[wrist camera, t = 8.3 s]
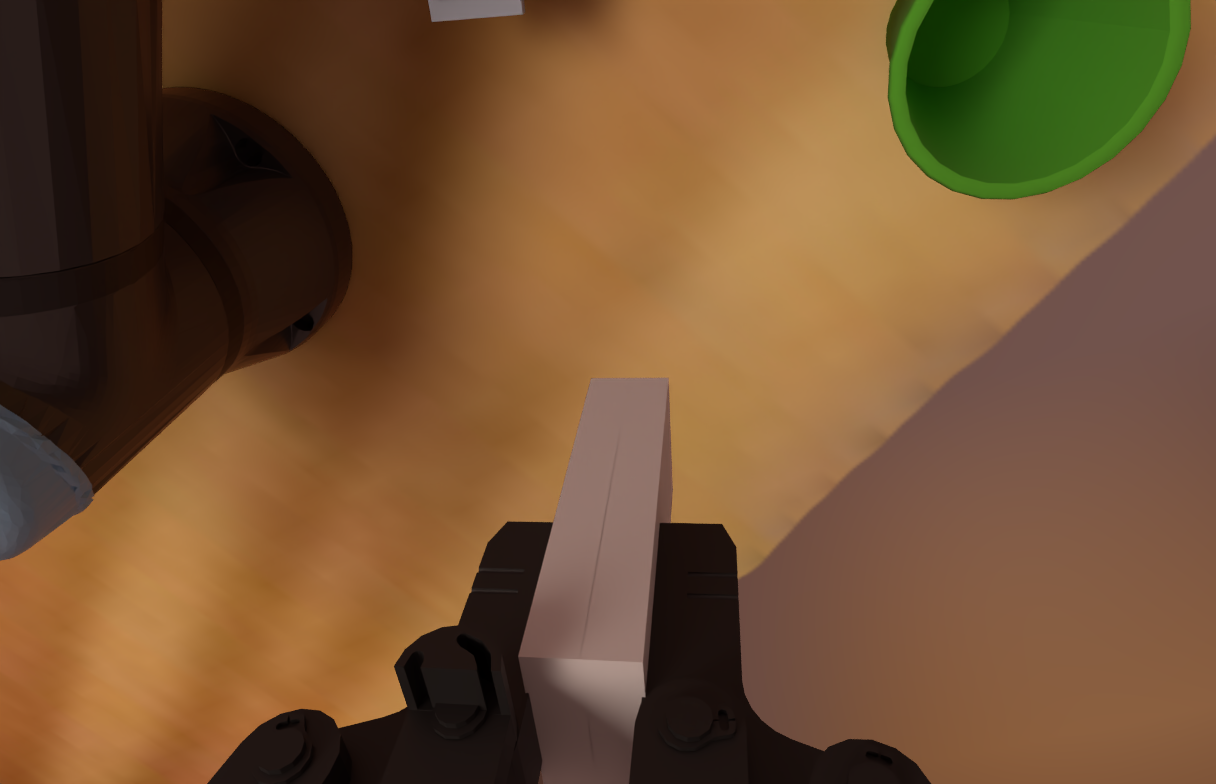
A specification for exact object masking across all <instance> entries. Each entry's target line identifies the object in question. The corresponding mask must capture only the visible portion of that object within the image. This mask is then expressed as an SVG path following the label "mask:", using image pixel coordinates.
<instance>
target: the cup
mask: <svg viewBox="0 0 1216 784" xmlns="http://www.w3.org/2000/svg"><path fill="white" fill-rule="evenodd" d="M1190 29H1191V10H1190V0H897V2H896V4H895V6H894V8H893V10H892V11H891V14H890V18H889V22H888V25H887V33H886V46H887V52H888V57H889V61H890V66H889V84H888V101H889V106H890V111H891V116H892V121H893V126H894V130H895V132H896V134H897V136H898V138H899V140H900V142H901V144H902V146H903V148H904V150H905V152H906V153H907V155H908V156H909V157H910V159H911V160H912V161H913V162H914V163H915V164H916V165H917V166H918V167H919V168H920V169H921V170H922V171H923V172H924V173H925V175H926V176H928V177H929V178H931V179H933V180H934V181H936V182H938V183H940V184H941V185H943V186H945V187H946V188H948V189H950V190H951V191H954V192H958V193H962V194H966V195H969V196H973V197H977V198H980V199H1018V198H1023V197H1028V196H1033V195H1038V194H1043V193H1047V192H1050V191H1052V190H1054V189H1057V188H1059V187H1062V186H1064V185H1067V184H1069V183H1071V182H1074V181H1076V180H1079V179H1081V178H1083V177H1084V176H1086V175H1087V174H1089V173H1091V172H1092V171H1094V170H1095V169H1097V168H1098V167H1100V166H1101V165H1103V164H1104V163H1106V162H1108V161H1109V160H1111V159H1112V158H1114V157H1115V156H1116V155H1117V154H1118V153H1119V152H1120V151H1121V150H1122V149H1123V148H1124V147H1125V146H1126V145H1128V144H1129V143H1130V142H1131V141H1132V140H1133V139H1134V138H1135V137H1136V136H1137V135H1138V134H1139V133H1140V132H1141V131H1142V130H1143V129H1144V127H1145V126H1146V125H1147V123H1148V122H1149V121H1150V119H1151V118H1152V117H1153V115H1154V114H1155V113H1156V111H1157V110H1158V109H1159V107H1160V106H1161V105H1162V103H1163V102H1164V101H1165V99H1166V97H1167V95H1168V93H1169V91H1170V89H1171V86H1172V84H1173V82H1174V80H1175V78H1176V76H1177V74H1178V72H1179V70H1180V68H1181V66H1182V62H1183V58H1184V54H1185V50H1186V46H1187V41H1188V37H1189V33H1190Z"/></svg>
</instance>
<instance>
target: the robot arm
mask: <svg viewBox="0 0 1216 784" xmlns="http://www.w3.org/2000/svg"><path fill="white" fill-rule="evenodd" d="M351 267H352V246H351V238H350V232H349V228H348V223H347V220H346V217H345V213H344V211H343V208H342V205H341V203H340V201H339V198H338V196H337V194H336V192H335V190H334V188H333V186H332V184H331V183H330V181H329V179H328V178H327V176H326V175H325V173H324V172H323V170H322V169H321V167H320V166H319V164H318V163H317V162H316V161H315V159H314V158H313V157H312V155H311V154H310V153H309V152H308V151H307V150H306V149H305V148H304V146H303V145H302V144H301V143H300V142H299V141H298V140H297V139H296V138H295V137H293V136H292V135H291V134H290V133H289V132H288V131H287V130H286V129H284V128H283V127H282V126H281V125H279V124H278V123H277V122H275V121H274V120H273V119H271V118H270V117H268V116H267V115H265V114H264V113H262V112H260V111H259V110H257V109H255V108H253V107H252V106H250V105H248V104H246V103H244V102H241V101H239V100H237V99H235V98H232V97H229V96H227V95H224V94H220V93H217V92H213V91H209V90H204V89H198V88H188V87H172V88H163V89H162V0H0V560H6V559H10V558H13V557H15V556H17V555H19V554H21V553H23V552H24V551H26V550H28V549H29V548H31V547H32V546H33V545H34V544H36V543H37V542H38V541H40V540H41V539H43V538H44V537H45V536H47V535H48V534H49V533H51V532H52V531H53V530H55V529H56V528H57V527H59V526H60V525H61V524H63V523H64V522H65V521H67V520H68V519H69V518H71V517H72V516H73V515H76V514H78V513H80V512H82V511H84V510H85V509H86V508H87V507H88V506H89V505H90V503H91V502H92V501H93V499H92V497H93V496H94V494H95V493H96V492H98V491H99V490H100V489H101V488H102V487H103V486H104V485H105V484H106V483H107V482H108V481H109V480H110V479H111V478H113V477H114V476H115V475H116V474H117V473H118V472H119V471H120V470H121V469H122V468H123V467H124V466H125V465H127V464H128V463H129V462H130V461H131V460H132V459H133V458H134V457H135V456H136V455H137V454H138V453H139V452H141V451H142V450H143V449H144V448H145V447H146V446H147V445H148V444H149V443H150V442H151V441H152V440H153V439H154V438H156V437H157V436H158V435H159V434H160V433H161V432H162V431H163V430H164V429H165V428H166V427H167V426H168V425H170V424H171V423H172V422H173V421H174V420H175V419H176V418H177V417H178V416H179V415H180V414H181V413H182V412H184V411H185V410H186V409H187V408H188V407H189V406H190V405H191V404H192V403H193V402H194V401H195V400H196V399H197V398H199V397H200V396H201V395H202V394H203V393H204V392H205V391H206V390H207V389H208V388H209V387H210V386H211V385H212V384H213V383H214V382H215V381H217V380H218V379H219V378H220V377H221V376H222V375H223V374H226V373H229V372H232V371H235V370H238V369H241V368H244V367H247V366H250V365H253V364H256V363H259V362H262V361H265V360H268V359H271V358H275V357H278V356H280V355H283V354H285V353H287V352H289V351H292V350H293V349H295V348H297V347H298V346H300V345H301V344H303V343H304V342H306V341H307V340H308V339H310V338H311V337H312V336H313V335H314V334H315V333H316V332H317V331H318V330H319V329H320V328H321V327H322V326H323V325H324V324H325V323H326V322H327V321H328V320H329V319H330V317H331V316H332V315H333V314H334V313H335V311H336V310H337V309H338V307H339V305H340V303H341V302H342V300H343V298H344V295H345V293H346V290H347V287H348V284H349V280H350V275H351ZM672 492H673V487H672V459H671V432H670V405H669V378H591V381H590V385H589V388H588V392H587V396H586V400H585V404H584V407H583V411H582V415H581V419H580V423H579V426H578V430H577V434H576V438H575V442H574V446H573V449H572V453H571V457H570V461H569V465H568V468H567V472H566V476H565V480H564V484H563V487H562V491H561V495H560V499H559V503H558V507H557V510H556V514H555V518H554V522H553V523H552V522H507V523H506V524H505V525H504V526H503V527H502V528H501V529H500V530H499V531H498V532H497V534H496V535H495V536H494V537H493V538H492V539H491V540H490V541H489V542H488V544H487V546H486V549H485V552H484V555H483V558H482V560H481V563H480V566H479V573H477V574H476V577H475V580H474V583H473V585H472V592H471V593H470V594H469V596H468V599H467V602H466V605H465V608H464V610H463V613H462V616H461V619H460V621H459V624H458V626H449V627H442V628H439V629H437V630H434V631H432V632H430V633H427V634H425V635H423V636H421V637H420V638H419V639H417V640H416V641H415V642H414V643H412V644H411V645H410V646H409V647H407V648H406V649H405V650H404V652H403V653H402V655H401V656H400V658H399V659H398V661H397V662H396V664H395V665H394V668H395V671H396V674H397V677H398V680H399V683H400V686H401V689H402V692H403V695H404V698H405V701H406V704H407V707H406V708H405V709H403V710H401V711H399V712H397V713H394V714H391V715H388V716H385V717H382V718H378V719H374V720H370V721H366V722H362V723H358V724H354V725H350V726H346V727H342V728H338V727H337V725H336V723H335V721H334V719H332V718H331V717H329V716H328V715H326V714H325V713H323V712H321V711H318V710H308V709H299V710H295V711H291V712H286V713H282V714H279V715H278V716H276V717H274V718H272V719H270V720H269V721H267V722H265V723H263V724H261V725H260V726H259V727H257V728H256V729H255V730H254V731H253V732H252V733H251V734H250V735H249V736H248V737H247V738H246V739H245V740H244V741H242V743H241V744H240V745H239V746H238V747H237V749H236V750H235V751H234V752H233V753H232V755H231V756H230V757H229V758H228V759H227V761H226V762H225V763H224V764H223V765H222V767H221V768H220V769H219V770H218V771H217V773H216V774H215V775H214V776H213V777H212V779H211V780H210V781H209V782H208V783H207V784H538V780H539V776H540V771H541V772H542V777H543V782H544V784H931V783H930V782H929V780H928V779H927V778H926V776H925V775H924V774H923V772H922V771H921V769H920V768H919V767H918V766H917V764H916V763H915V762H913V761H912V760H911V759H909V758H908V757H906V756H905V755H904V754H902V753H901V752H900V751H898V750H897V749H896V748H893V747H890V746H888V745H885V744H882V743H879V742H876V741H874V740H861V739H860V740H859V739H848V740H845V741H843V742H840V743H837V744H835V745H832V746H830V747H828V748H827V749H826V750H825V751H822V750H819V749H816V748H814V747H811V746H808V745H806V744H803V743H800V742H797V741H795V740H792V739H790V738H788V737H786V736H784V735H782V734H780V733H778V732H776V731H774V730H773V729H772V728H771V727H769V726H768V725H767V724H766V723H764V722H763V721H762V720H761V719H760V718H759V717H758V715H757V714H756V713H755V712H754V711H753V710H752V708H751V706H750V704H749V702H748V700H747V698H746V696H745V694H744V688H743V683H742V670H741V646H740V623H739V601H738V579H737V554H736V546H735V544H734V543H733V541H732V540H731V538H730V536H729V535H728V533H727V531H726V530H725V528H724V527H723V525H722V524H692V523H670V522H671V507H672Z"/></svg>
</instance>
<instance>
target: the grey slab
mask: <svg viewBox="0 0 1216 784" xmlns="http://www.w3.org/2000/svg"><path fill="white" fill-rule="evenodd" d="M428 3H429V9H430V14H431V20H432V22H438V21H450V20H462V19H474V18H486V17H498V16H511V15H523V14H524V13H525V5H524V0H428Z"/></svg>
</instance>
